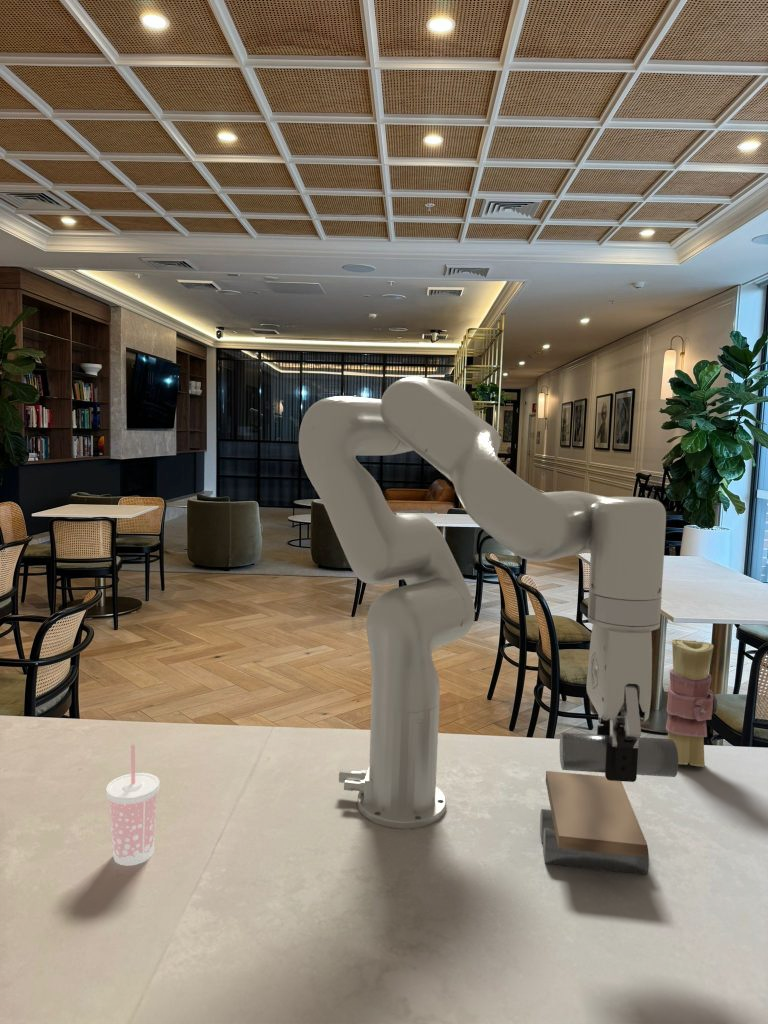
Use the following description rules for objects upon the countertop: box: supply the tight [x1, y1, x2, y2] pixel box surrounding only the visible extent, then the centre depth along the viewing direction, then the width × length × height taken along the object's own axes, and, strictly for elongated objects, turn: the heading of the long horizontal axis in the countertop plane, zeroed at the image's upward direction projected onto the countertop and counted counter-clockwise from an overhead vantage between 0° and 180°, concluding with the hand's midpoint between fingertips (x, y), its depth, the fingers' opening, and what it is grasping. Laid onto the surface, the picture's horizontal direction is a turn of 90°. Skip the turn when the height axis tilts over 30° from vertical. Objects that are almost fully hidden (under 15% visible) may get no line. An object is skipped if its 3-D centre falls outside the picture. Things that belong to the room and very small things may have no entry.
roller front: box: [542, 828, 650, 876], centre depth 85 cm, size 12×4×4 cm, turn 82°
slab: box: [545, 770, 648, 857], centre depth 88 cm, size 10×16×2 cm, turn 172°
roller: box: [559, 732, 679, 778], centre depth 77 cm, size 12×4×4 cm, turn 84°
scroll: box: [665, 639, 718, 768], centre depth 112 cm, size 8×8×20 cm
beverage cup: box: [105, 744, 161, 867], centre depth 84 cm, size 6×6×14 cm
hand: (615, 768), depth 77 cm, fingers closed on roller, 4 cm apart
